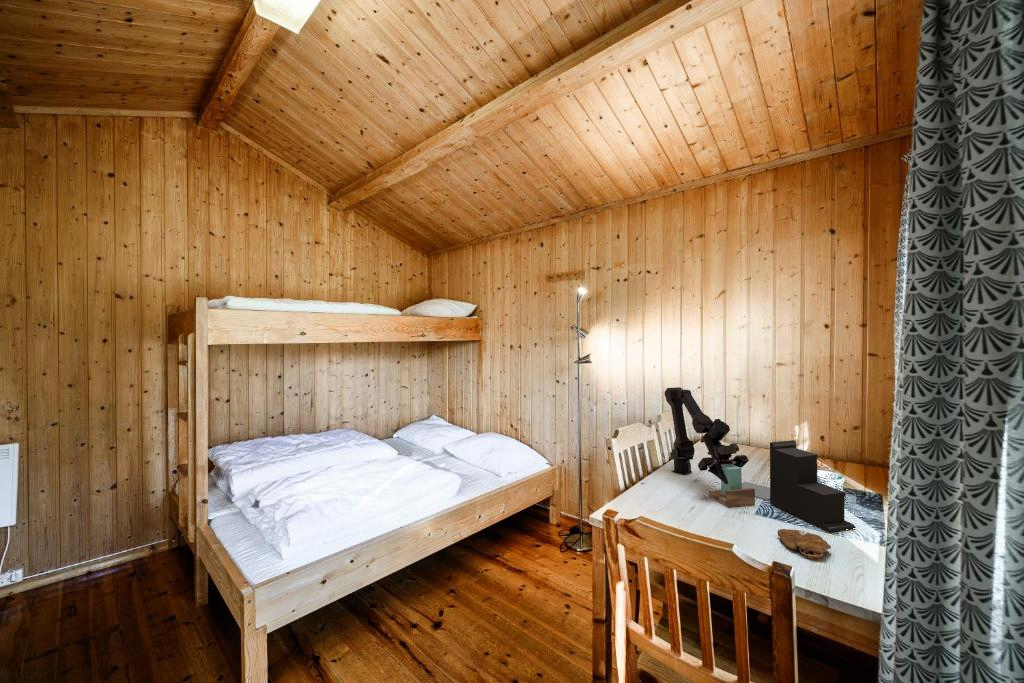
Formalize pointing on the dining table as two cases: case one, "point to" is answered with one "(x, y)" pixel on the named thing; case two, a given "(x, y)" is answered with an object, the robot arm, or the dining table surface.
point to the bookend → (804, 488)
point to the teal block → (731, 478)
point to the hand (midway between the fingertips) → (733, 483)
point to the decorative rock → (804, 542)
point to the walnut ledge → (735, 497)
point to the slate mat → (758, 490)
